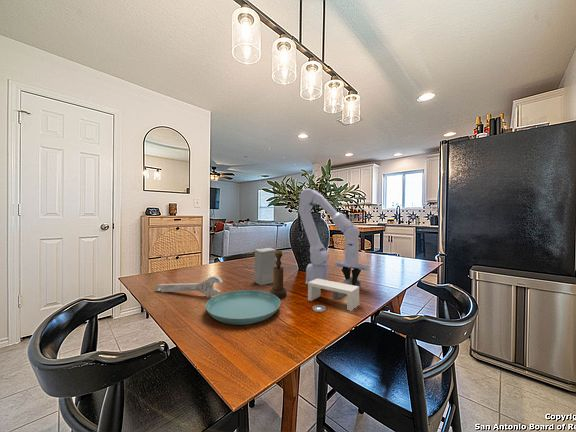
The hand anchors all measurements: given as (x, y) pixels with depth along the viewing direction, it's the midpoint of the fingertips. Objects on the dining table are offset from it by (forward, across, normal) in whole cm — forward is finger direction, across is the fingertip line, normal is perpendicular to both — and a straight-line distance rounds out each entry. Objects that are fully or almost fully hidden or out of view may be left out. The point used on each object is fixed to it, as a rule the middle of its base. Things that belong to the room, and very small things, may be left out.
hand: (351, 285), depth 104 cm
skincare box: (+2, -35, -17) cm, 39 cm away
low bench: (+2, +1, -20) cm, 20 cm away
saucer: (+2, -19, -45) cm, 49 cm away
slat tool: (+2, 0, -5) cm, 5 cm away
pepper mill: (+2, -19, -27) cm, 33 cm away
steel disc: (+2, 0, -28) cm, 28 cm away
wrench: (+2, -48, -48) cm, 67 cm away
